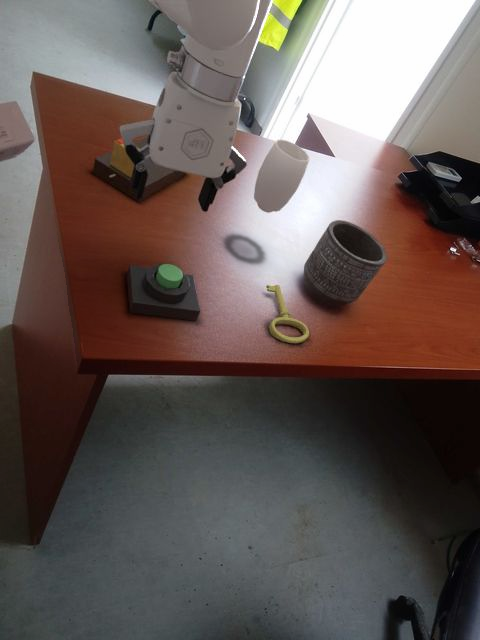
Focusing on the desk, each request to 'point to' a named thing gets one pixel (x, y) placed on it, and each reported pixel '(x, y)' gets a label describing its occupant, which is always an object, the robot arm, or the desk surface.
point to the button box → (161, 295)
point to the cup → (280, 175)
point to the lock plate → (121, 181)
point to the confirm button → (169, 276)
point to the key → (285, 319)
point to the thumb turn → (121, 158)
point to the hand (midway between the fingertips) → (170, 199)
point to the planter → (342, 264)
